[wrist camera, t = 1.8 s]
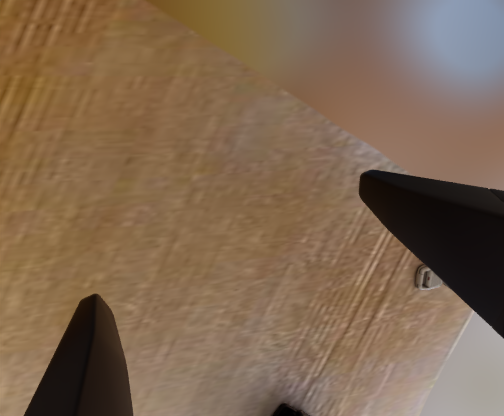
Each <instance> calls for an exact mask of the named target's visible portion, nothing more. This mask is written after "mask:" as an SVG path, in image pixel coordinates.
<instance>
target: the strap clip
mask: <svg viewBox="0 0 504 416" xmlns="http://www.w3.org/2000/svg"><path fill="white" fill-rule="evenodd" d="M442 284H444V285H445V286H447V285H446V284H445V283H444V282H443V281H442V280H441V279H440V278H439V277H438V276H437V275H436V274H435V273H433V272H432V271H431V270H430V269H429V268H428V267H427V266H426V265H423V266H421V267H420V268H419V269H418V272H417V278H416V287H417V288H418V289H420V290H430V289H433V288H436V287H440V286H441V285H442ZM447 287H448V286H447ZM448 288H449V287H448ZM450 289H451V288H450ZM451 290H452V289H451Z"/></svg>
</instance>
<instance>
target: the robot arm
mask: <svg viewBox="0 0 504 416" xmlns="http://www.w3.org/2000/svg"><path fill="white" fill-rule="evenodd" d="M359 196H360V198H361V199H362V201H363V202H364V203H365V204H366V205H367V206H368V208H369V209H370V210H371V211H372V212H373V213H374V214H375V216H376V217H377V218H378V219H379V220H380V221H381V223H382V224H383V225H384V226H385V227H386V228H387V229H388V230H389V231H390V232H391V233H392V234H393V235H394V236H395V237H396V238H397V239H398V240H399V241H400V242H401V243H403V244H404V245H405V246H406V247H407V248H408V249H409V250H410V251H411V252H412V253H413V254H414V255H415V256H416V257H417V258H419V259H420V260H421V261H422V262H423V263H424V264H425V265H426V266H427V267H428V268H429V269H430V270H431V271H432V272H433V273H435V274H436V275H437V276H438V277H439V278H440V279H441V280H442V281H443V282H444V283H445V284H446V285H447V286H448V287H449V288H451V289H452V290H453V291H454V292H455V293H456V294H457V295H458V296H459V297H460V298H461V299H462V300H463V301H464V302H465V303H467V304H468V305H469V306H470V307H471V308H472V309H473V310H474V311H475V312H477V314H478V315H479V316H480V317H482V318H483V319H484V320H485V321H486V322H487V323H488V324H489V325H490V326H492V328H493V329H494V330H495V331H496V332H497V333H498V334H499V335H501V336H502V337H503V338H504V191H502V190H496V189H488V188H483V187H477V186H471V185H465V184H458V183H453V182H446V181H440V180H434V179H428V178H421V177H416V176H410V175H404V174H397V173H391V172H385V171H379V170H369V171H366V172H364V173H362V174H361V176H360V183H359ZM24 416H133V408H132V400H131V393H130V385H129V377H128V370H127V364H126V360H125V356H124V352H123V349H122V345H121V341H120V337H119V334H118V330H117V326H116V322H115V318H114V315H113V313H112V311H111V309H110V308H109V306H108V305H107V304H106V303H105V301H104V300H103V299H102V298H101V296H100V295H98V294H92V295H90V296H88V297H86V298H83V299H82V300H81V301H80V303H79V305H78V307H77V309H76V311H75V313H74V315H73V317H72V319H71V321H70V323H69V325H68V327H67V329H66V331H65V333H64V335H63V337H62V339H61V341H60V343H59V345H58V347H57V349H56V351H55V353H54V355H53V357H52V359H51V361H50V363H49V365H48V367H47V369H46V371H45V373H44V376H43V378H42V380H41V382H40V384H39V386H38V388H37V390H36V392H35V394H34V396H33V398H32V400H31V402H30V404H29V406H28V408H27V410H26V412H25V414H24ZM273 416H310V415H308V414H306V413H305V412H303V411H301V410H296V409H294V408H292V407H291V406H289V405H287V404H282V405H281V406H280V407H279V409H278V410H277V411H276V412H275V414H274V415H273Z"/></svg>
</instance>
